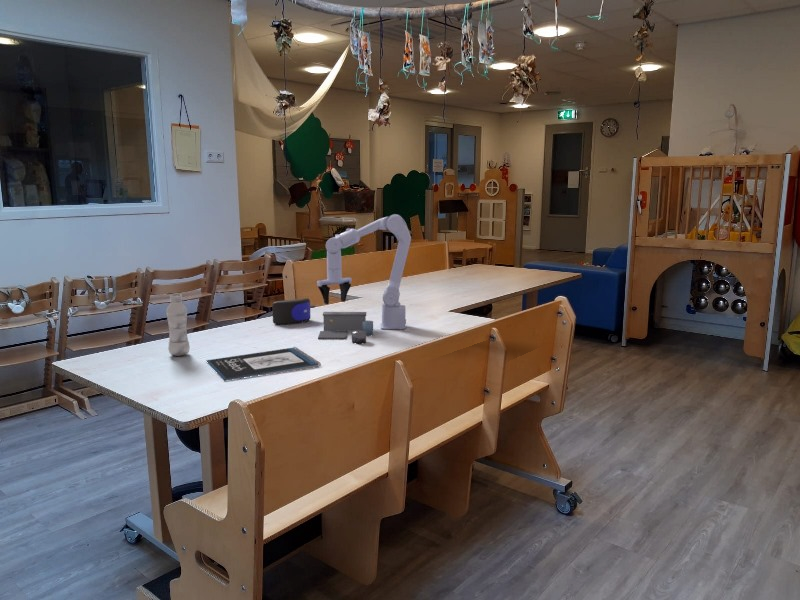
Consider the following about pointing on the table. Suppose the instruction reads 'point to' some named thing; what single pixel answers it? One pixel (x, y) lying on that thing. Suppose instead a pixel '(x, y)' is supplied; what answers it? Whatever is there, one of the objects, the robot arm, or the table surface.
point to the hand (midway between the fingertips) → (334, 302)
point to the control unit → (343, 321)
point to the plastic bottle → (177, 326)
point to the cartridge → (368, 327)
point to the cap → (359, 336)
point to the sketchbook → (262, 363)
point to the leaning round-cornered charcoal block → (291, 311)
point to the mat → (332, 335)
